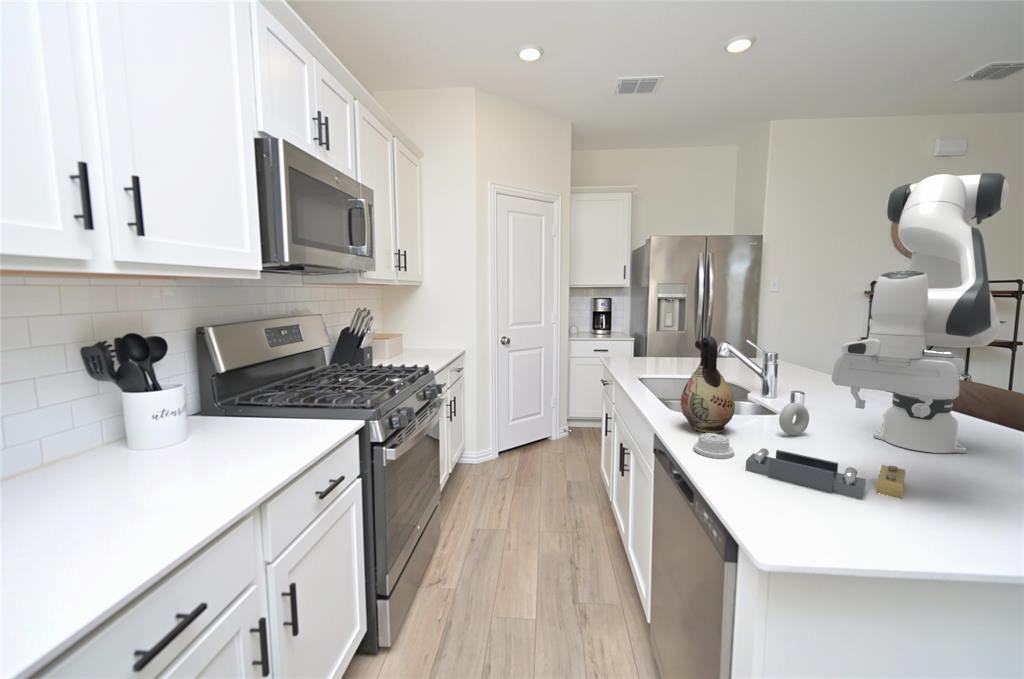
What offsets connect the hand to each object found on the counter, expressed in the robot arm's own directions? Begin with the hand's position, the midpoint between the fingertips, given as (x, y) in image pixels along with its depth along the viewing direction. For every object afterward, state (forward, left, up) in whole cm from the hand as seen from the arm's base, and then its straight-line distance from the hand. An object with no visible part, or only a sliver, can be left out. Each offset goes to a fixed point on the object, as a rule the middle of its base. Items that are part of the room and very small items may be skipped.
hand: (888, 412), depth 91 cm
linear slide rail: (+6, -13, -17) cm, 23 cm away
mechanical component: (+2, -34, -18) cm, 39 cm away
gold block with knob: (-2, +2, -18) cm, 18 cm away
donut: (-28, -21, -17) cm, 39 cm away
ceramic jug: (-15, -42, -17) cm, 48 cm away
